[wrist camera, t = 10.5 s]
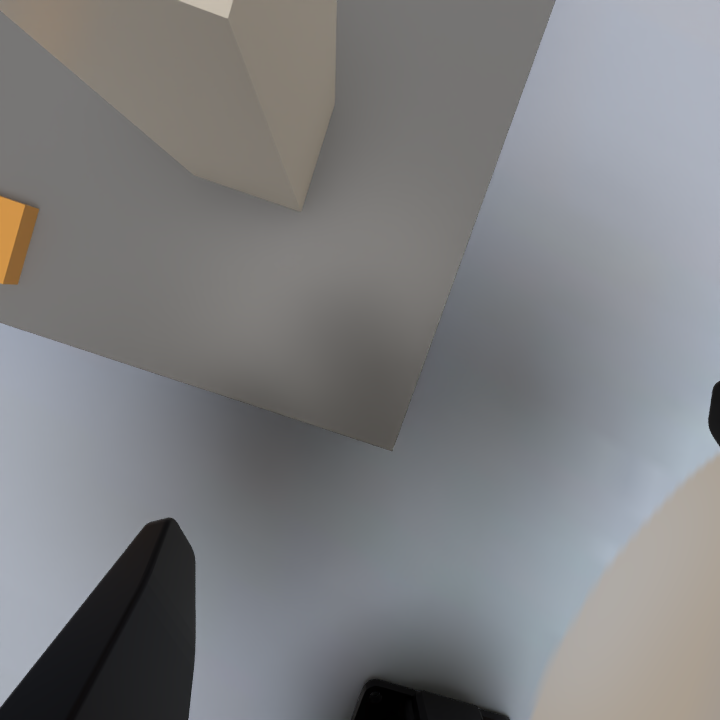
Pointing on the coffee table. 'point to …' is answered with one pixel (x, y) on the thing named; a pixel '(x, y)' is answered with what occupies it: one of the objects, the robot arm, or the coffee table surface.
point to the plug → (207, 79)
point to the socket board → (268, 219)
